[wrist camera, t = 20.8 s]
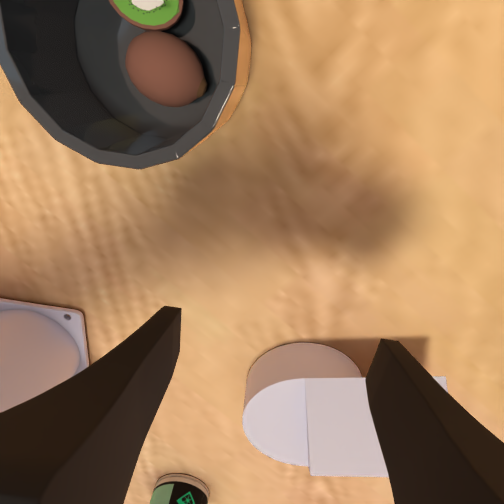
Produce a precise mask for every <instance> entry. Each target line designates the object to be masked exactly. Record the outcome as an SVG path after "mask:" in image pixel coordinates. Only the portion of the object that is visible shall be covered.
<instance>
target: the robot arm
mask: <svg viewBox="0 0 504 504" xmlns="http://www.w3.org/2000/svg"><path fill="white" fill-rule="evenodd" d="M67 314H68V315H70V316H68V315H67ZM180 331H181V308H176V307H170V306H164V307H162V308H161V309H160V310H159V311H158V312H157V313H156V314H154V315H153V316H152V317H151V318H150V319H149V320H148V321H147V322H146V323H144V324H143V325H142V326H141V327H140V328H139V329H138V330H136V331H135V332H134V333H133V334H132V335H130V336H129V337H128V338H127V339H126V340H124V341H123V342H122V343H120V344H119V345H118V346H116V347H115V348H114V349H112V350H111V351H110V352H108V353H107V354H106V355H104V356H103V357H102V358H100V359H99V360H97V361H96V362H95V363H93V364H92V365H90V366H89V358H88V350H87V342H86V333H85V325H84V316H83V314H82V313H81V312H80V311H79V310H75V309H68V308H62V307H55V306H48V305H42V304H35V303H29V302H22V301H16V300H9V299H2V298H0V504H123V503H124V500H125V497H126V494H127V490H128V487H129V484H130V481H131V478H132V475H133V472H134V469H135V466H136V463H137V460H138V457H139V454H140V451H141V448H142V446H143V443H144V441H145V438H146V435H147V433H148V431H149V429H150V426H151V424H152V422H153V420H154V417H155V415H156V413H157V410H158V408H159V406H160V404H161V401H162V399H163V397H164V394H165V392H166V390H167V387H168V385H169V383H170V380H171V378H172V375H173V372H174V369H175V366H176V362H177V359H178V355H179V352H180ZM365 382H366V390H367V397H368V403H369V408H370V412H371V416H372V419H373V423H374V427H375V430H376V434H377V437H378V440H379V444H380V447H381V451H382V454H383V458H384V461H385V465H386V468H387V472H388V475H389V479H390V483H391V487H392V492H393V497H394V503H395V504H504V443H503V442H502V441H501V440H499V439H498V438H497V437H496V436H495V435H493V434H492V433H491V432H490V431H489V430H487V429H486V428H485V427H484V426H483V425H482V424H480V423H479V422H478V421H477V420H476V419H475V418H474V417H473V416H472V415H470V414H469V413H468V412H467V411H466V410H465V409H464V408H463V407H462V406H461V405H460V404H459V403H458V402H457V401H456V400H455V399H454V398H453V397H452V396H451V395H450V394H449V393H448V392H447V391H446V390H445V389H444V388H443V387H442V386H441V385H440V384H439V383H438V382H437V381H436V380H435V379H434V378H433V377H432V376H431V375H430V374H429V373H428V372H427V371H426V370H425V369H424V368H423V366H422V365H421V364H420V363H419V362H418V361H417V360H416V359H415V358H414V357H413V356H412V355H411V354H410V353H409V352H408V351H407V349H406V348H405V347H404V346H403V345H402V344H401V343H400V342H399V341H394V340H387V339H381V340H380V343H379V345H378V348H377V351H376V353H375V356H374V358H373V361H372V364H371V366H370V369H369V371H368V374H367V377H366V379H365Z"/></svg>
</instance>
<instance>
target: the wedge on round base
mask: <svg viewBox="0 0 504 504" xmlns="http://www.w3.org/2000/svg"><path fill="white" fill-rule="evenodd" d="M433 378H434V379H435V380H436V381H437V382H438V383H439V384H440V385H441V386H442V387H443V388H444V389H445V390H446V391H447V392H448V390H447V383H446V376H440V377H433ZM365 379H366V377H365V378H362V376H361V373H360V371H359V369H358V367H357V366H356V364H355V363H354V362H353V361H352V360H351V359H350V358H349V357H348V356H346V355H345V354H343V353H342V352H340V351H338V350H336V349H334V348H331V347H329V346H325V345H321V344H316V343H292V344H286V345H283V346H279V347H277V348H274V349H272V350H270V351H268V352H267V353H265V354H263V355H262V356H261V357H260V358H258V360H257V361H256V362H255V363H254V364H253V366H252V367H251V369H250V371H249V373H248V377H247V382H246V391H245V400H244V409H243V418H242V424H243V429H244V432H245V435H246V436H247V438H248V440H249V441H250V442H251V444H252V445H253V446H254V447H255V448H256V449H258V450H259V451H260V452H262V453H263V454H265V455H267V456H268V457H270V458H272V459H275V460H277V461H280V462H283V463H287V464H291V465H298V466H309V471H310V475H311V476H352V477H389V475H388V472H387V468H386V465H385V461H384V458H383V454H382V451H381V447H380V444H379V440H378V437H377V434H376V430H375V427H374V423H373V419H372V416H371V412H370V408H369V403H368V397H367V390H366V382H365Z"/></svg>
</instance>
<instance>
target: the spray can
mask: <svg viewBox="0 0 504 504" xmlns="http://www.w3.org/2000/svg"><path fill="white" fill-rule="evenodd" d="M208 497H209V490H208V488H207V487H206V485H205V484H204V483H203V482H202V481H200V480H198V479H197V478H194V477H192V476H189V475H184V474H169V475H166V476H163V477H161V478H160V479H159V480H158V481H157V483H156V486H155V488H154V491H153V494H152V498H151V501H150V504H208V499H209V498H208Z"/></svg>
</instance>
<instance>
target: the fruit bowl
mask: <svg viewBox="0 0 504 504" xmlns="http://www.w3.org/2000/svg"><path fill="white" fill-rule="evenodd" d="M144 32H147V31H146V30H143V29H141V28H138V27H136V26H134V25H132V24H130V23H129V22H128V21H126V20H125V19H124V18H122V17H121V16H120V15H119V14H118V13H117V11H116V10H115V9H114V8H113V6H112V5H111V4H110V2H109V0H0V65H1V67H2V69H3V71H4V73H5V75H6V77H7V79H8V81H9V83H10V85H11V87H12V89H13V91H14V92H15V94H16V96H17V98H18V100H19V101H20V103H21V104H22V105H23V107H24V108H25V109H26V110H27V111H28V112H29V113H30V114H31V115H32V116H33V117H34V118H35V119H36V120H37V121H38V122H39V123H40V124H41V126H42V127H43V128H44V129H45V130H46V131H47V132H48V133H49V134H50V135H51V136H52V137H53V138H54V139H55V140H56V141H58V142H60V143H61V144H63V145H65V146H67V147H69V148H70V149H72V150H74V151H76V152H78V153H80V154H81V155H83V156H85V157H87V158H89V159H90V160H92V161H94V162H96V163H99V164H105V165H112V166H119V167H126V168H132V169H144V168H148V167H152V166H155V165H159V164H163V163H166V162H170V161H174V160H177V159H179V158H181V157H183V156H184V155H186V154H187V153H188V152H190V151H191V150H192V149H194V148H195V147H196V146H198V145H199V144H200V143H202V142H203V141H204V140H206V139H207V138H208V137H209V136H210V135H212V134H213V133H214V132H215V131H216V130H218V129H219V128H220V127H221V126H222V125H223V124H225V123H226V122H227V121H228V120H229V119H230V118H231V116H232V114H233V112H234V110H235V109H236V107H237V105H238V104H239V102H240V100H241V97H242V95H243V93H244V90H245V88H246V85H247V80H248V75H249V69H250V60H251V38H250V33H249V28H248V22H247V19H246V15H245V12H244V8H243V3H242V0H183V10H182V14H181V17H180V19H179V21H178V22H177V23H176V24H175V25H173V26H172V27H171V28H170V29H167V30H163V31H161V32H165V33H169V34H172V35H174V36H176V37H178V38H179V39H181V40H183V41H184V42H186V43H187V44H188V45H189V46H190V47H191V48H192V49H193V50H194V52H195V53H196V54H197V56H198V58H199V60H200V62H201V64H202V67H203V72H204V78H205V80H206V82H207V89H206V92H205V94H204V96H203V97H200V98H197V99H196V100H194V101H193V102H191V103H190V104H189V105H185V106H181V107H168V106H163V105H161V104H158V103H156V102H153V101H151V100H150V99H148V98H147V97H146V96H144V95H143V94H142V93H140V92H139V91H138V89H137V88H136V87H135V85H134V84H133V83H132V82H131V79H130V77H129V74H128V72H127V69H126V67H125V59H126V53H127V50H128V46H129V44H130V42H131V41H132V39H133V38H135V37H136V36H138V35H140V34H142V33H144Z"/></svg>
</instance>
